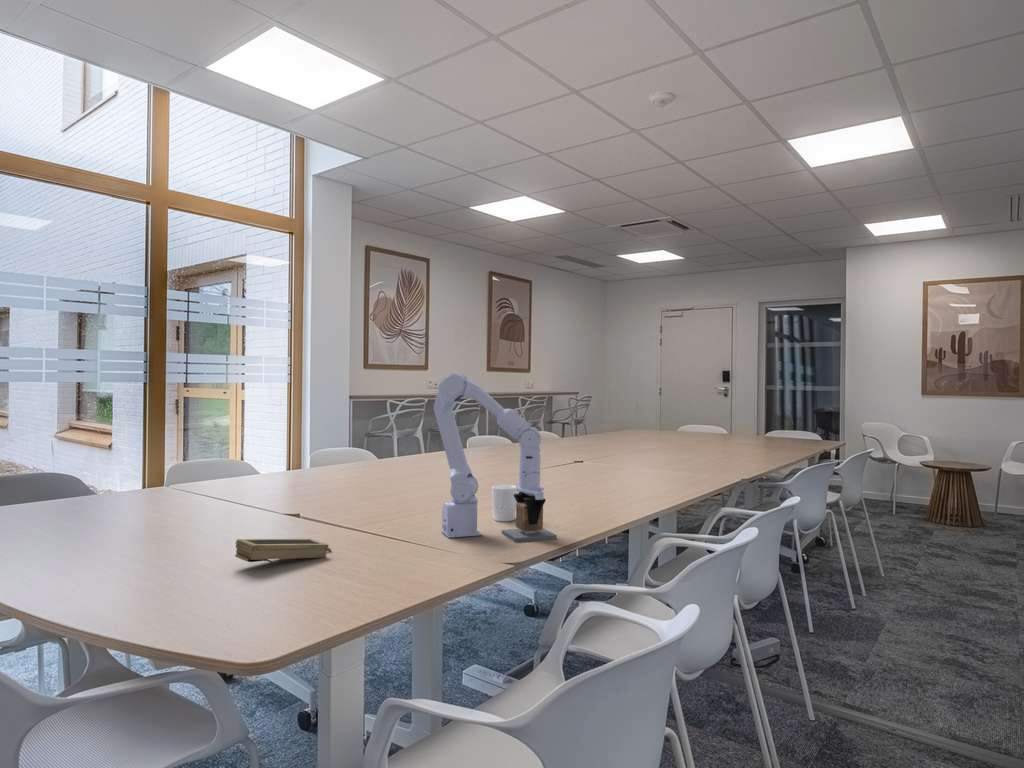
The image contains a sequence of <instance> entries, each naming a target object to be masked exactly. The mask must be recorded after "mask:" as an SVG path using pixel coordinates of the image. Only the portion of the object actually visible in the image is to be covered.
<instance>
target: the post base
mask: <svg viewBox="0 0 1024 768" xmlns="http://www.w3.org/2000/svg"><path fill="white" fill-rule="evenodd" d="M501 534H502V535H504V537H507V538H508V539H509V540H510V541H513V542H514V543H521V542H522V543H523V542H524V543H525V542H534V541H543V540H544V541H547V540H557V537H558V536H557V534H556V533H554V532H552V531H550V530H548V529H546V528H544V527H543V530H534V531H522V530H521V529H519V528H512V529H511V528H509V529H501Z"/></svg>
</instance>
